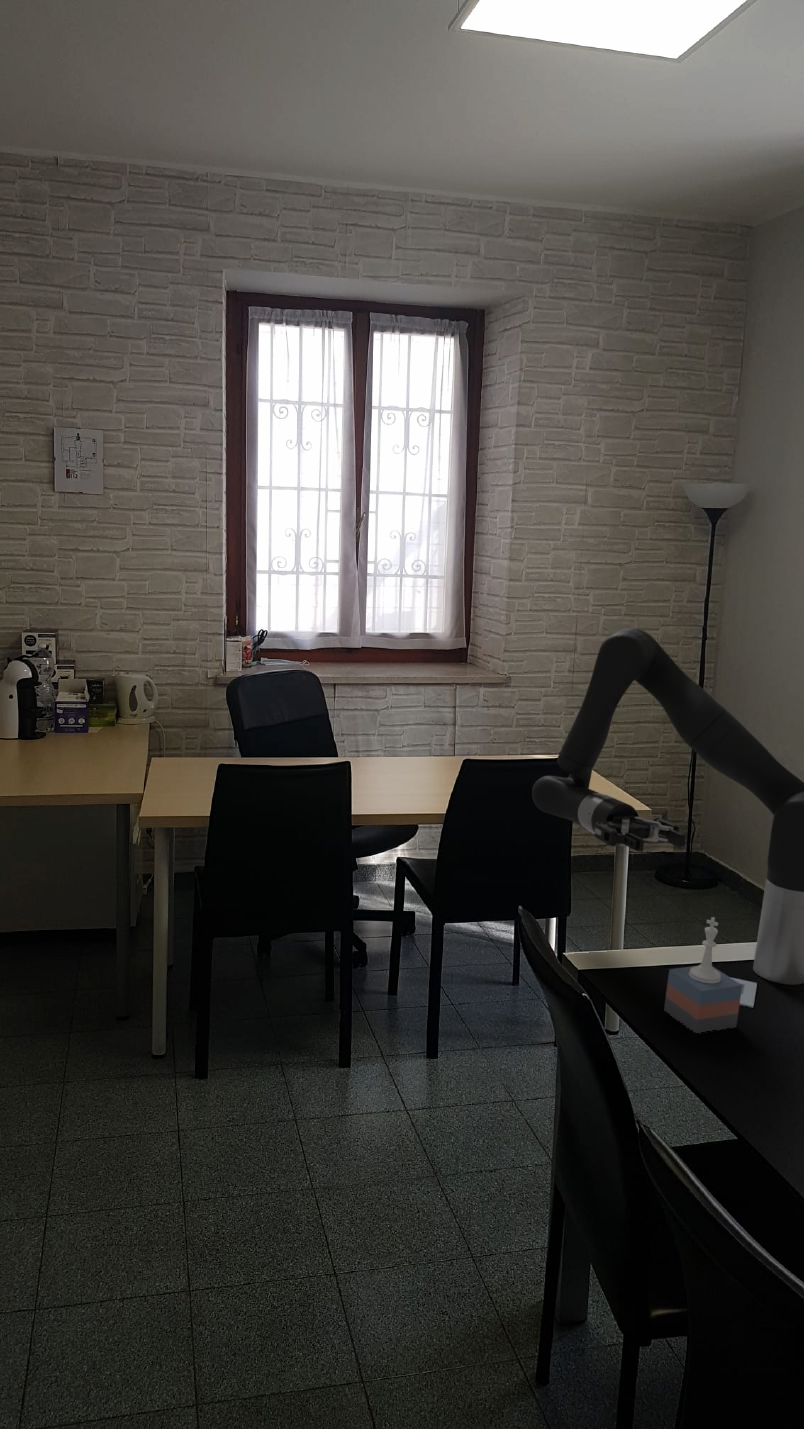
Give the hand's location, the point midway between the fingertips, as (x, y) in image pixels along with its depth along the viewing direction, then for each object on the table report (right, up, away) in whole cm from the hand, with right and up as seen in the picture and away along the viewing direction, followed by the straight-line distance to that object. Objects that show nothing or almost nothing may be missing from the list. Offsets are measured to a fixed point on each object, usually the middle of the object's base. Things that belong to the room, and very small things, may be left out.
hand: (662, 843), depth 180 cm
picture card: (+13, -26, +3) cm, 29 cm away
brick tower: (+4, -27, -8) cm, 29 cm away
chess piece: (+4, -20, -9) cm, 23 cm away
